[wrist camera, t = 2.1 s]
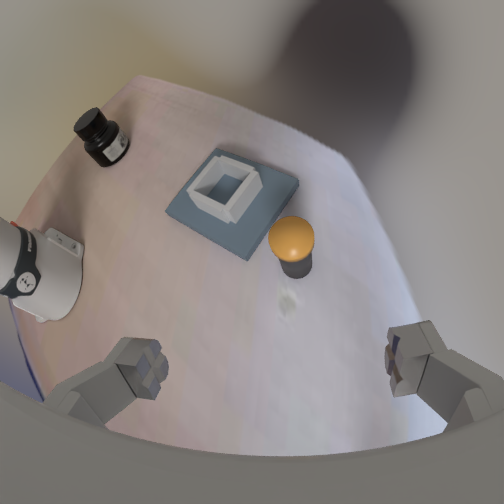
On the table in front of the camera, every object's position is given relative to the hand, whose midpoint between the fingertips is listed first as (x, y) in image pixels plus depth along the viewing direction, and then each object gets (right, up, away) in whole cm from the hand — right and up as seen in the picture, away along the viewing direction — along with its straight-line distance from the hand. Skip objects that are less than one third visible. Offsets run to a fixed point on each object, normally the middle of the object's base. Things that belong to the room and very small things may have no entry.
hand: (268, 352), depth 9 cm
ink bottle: (-32, +26, +47) cm, 62 cm away
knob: (+5, +2, +28) cm, 28 cm away
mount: (-4, +11, +34) cm, 36 cm away
